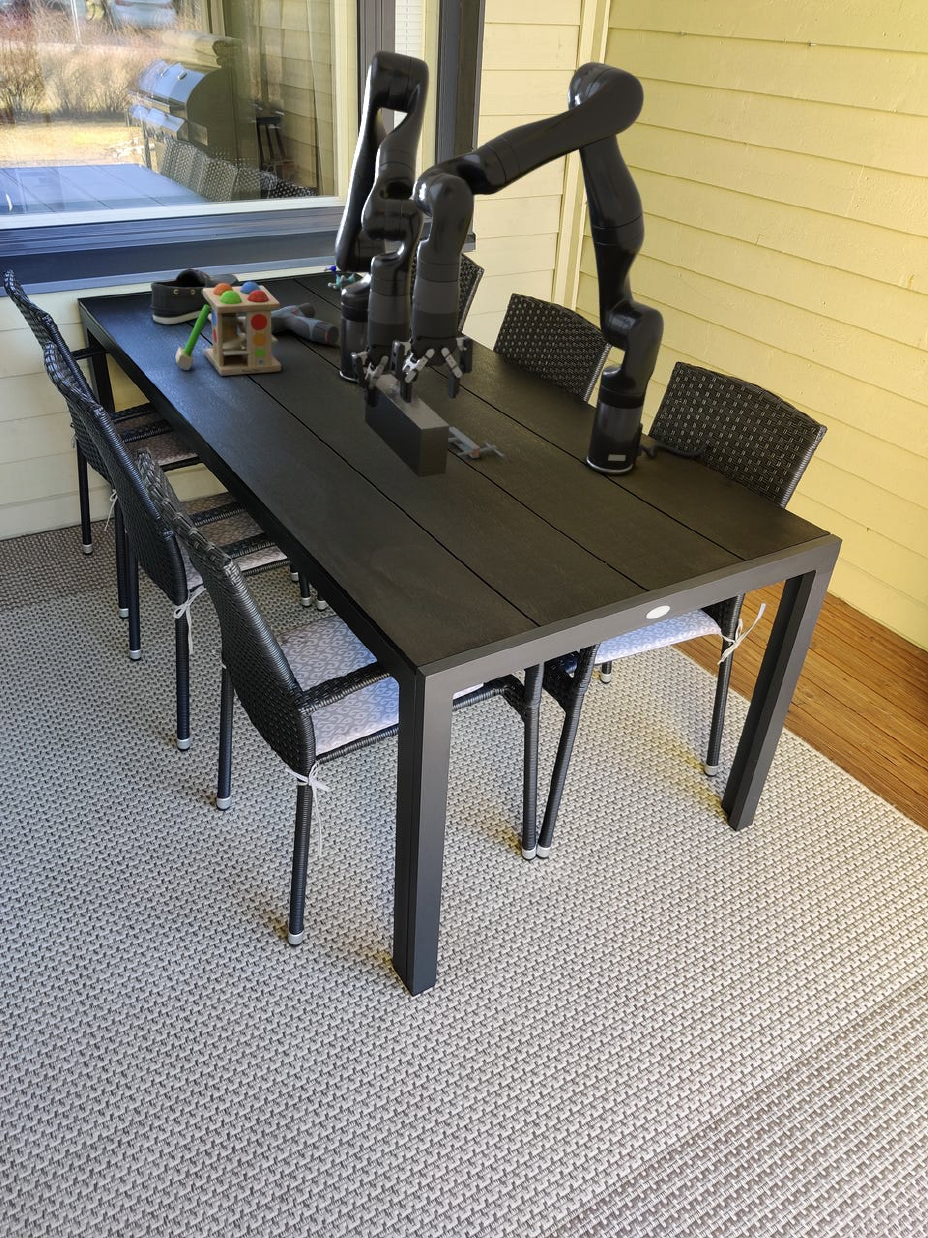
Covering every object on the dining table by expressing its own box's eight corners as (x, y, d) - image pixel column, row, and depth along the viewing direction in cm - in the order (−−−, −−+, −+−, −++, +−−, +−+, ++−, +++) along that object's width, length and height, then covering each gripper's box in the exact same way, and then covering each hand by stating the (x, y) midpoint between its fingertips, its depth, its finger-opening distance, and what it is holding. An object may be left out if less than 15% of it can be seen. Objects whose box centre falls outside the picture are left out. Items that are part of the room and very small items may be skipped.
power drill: (365, 313, 253) (305, 296, 261) (318, 330, 240) (256, 311, 248) (364, 334, 256) (305, 316, 264) (318, 351, 243) (257, 332, 251)
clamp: (428, 429, 204) (470, 423, 208) (427, 439, 205) (469, 432, 209) (464, 459, 193) (507, 451, 198) (463, 469, 194) (506, 461, 199)
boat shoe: (260, 302, 272) (258, 264, 267) (170, 326, 248) (166, 284, 243) (226, 294, 278) (223, 256, 272) (135, 316, 254) (130, 275, 248)
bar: (364, 421, 190) (366, 376, 185) (390, 418, 192) (392, 373, 187) (418, 477, 172) (421, 428, 167) (445, 473, 175) (449, 425, 169)
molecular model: (356, 287, 278) (344, 252, 277) (328, 299, 282) (316, 265, 280) (372, 289, 288) (361, 256, 287) (345, 301, 292) (334, 268, 291)
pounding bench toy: (183, 379, 220) (176, 299, 210) (169, 357, 231) (162, 280, 221) (282, 371, 230) (280, 294, 220) (264, 350, 240) (262, 276, 230)
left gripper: (359, 325, 171) (357, 416, 181) (433, 319, 177) (427, 408, 187) (344, 311, 176) (342, 400, 186) (416, 306, 182) (411, 393, 192)
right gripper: (405, 313, 154) (400, 411, 163) (485, 308, 160) (475, 403, 169) (386, 299, 159) (382, 394, 168) (464, 295, 165) (456, 387, 174)
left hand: (385, 403), depth 186 cm, fingers closed on bar, 5 cm apart
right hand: (429, 398), depth 168 cm, fingers open, 8 cm apart
